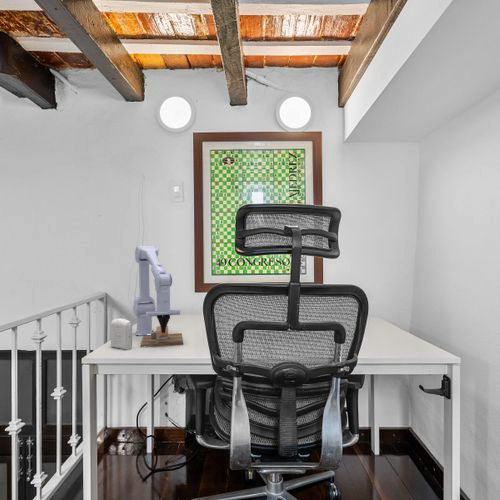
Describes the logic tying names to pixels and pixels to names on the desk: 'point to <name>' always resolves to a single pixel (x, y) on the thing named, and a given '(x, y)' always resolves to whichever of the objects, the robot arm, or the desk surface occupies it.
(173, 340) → the walnut base
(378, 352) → the desk surface
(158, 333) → the wooden tool handle
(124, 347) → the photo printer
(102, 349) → the desk surface
